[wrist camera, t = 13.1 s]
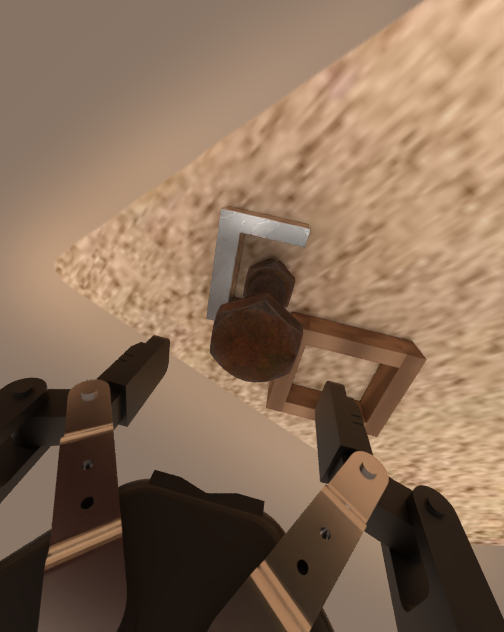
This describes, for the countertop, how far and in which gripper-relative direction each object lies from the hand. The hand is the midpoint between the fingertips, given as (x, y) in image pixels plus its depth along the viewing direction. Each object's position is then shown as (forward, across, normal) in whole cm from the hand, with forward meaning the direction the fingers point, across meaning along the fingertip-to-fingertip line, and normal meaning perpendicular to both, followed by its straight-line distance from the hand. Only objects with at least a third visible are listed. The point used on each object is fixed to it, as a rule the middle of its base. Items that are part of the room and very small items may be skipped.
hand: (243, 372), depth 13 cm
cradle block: (+17, +2, 0) cm, 17 cm away
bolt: (+17, 0, 0) cm, 17 cm away
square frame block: (+17, -10, +10) cm, 22 cm away
